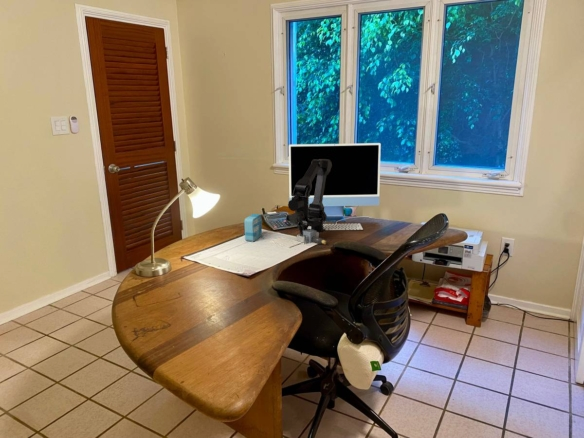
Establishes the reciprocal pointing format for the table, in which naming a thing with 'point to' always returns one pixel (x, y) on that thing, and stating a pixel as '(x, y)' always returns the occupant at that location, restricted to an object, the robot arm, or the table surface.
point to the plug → (313, 236)
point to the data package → (253, 227)
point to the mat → (285, 242)
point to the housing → (305, 238)
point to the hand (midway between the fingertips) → (302, 236)
